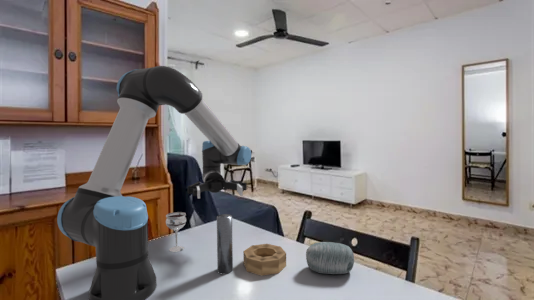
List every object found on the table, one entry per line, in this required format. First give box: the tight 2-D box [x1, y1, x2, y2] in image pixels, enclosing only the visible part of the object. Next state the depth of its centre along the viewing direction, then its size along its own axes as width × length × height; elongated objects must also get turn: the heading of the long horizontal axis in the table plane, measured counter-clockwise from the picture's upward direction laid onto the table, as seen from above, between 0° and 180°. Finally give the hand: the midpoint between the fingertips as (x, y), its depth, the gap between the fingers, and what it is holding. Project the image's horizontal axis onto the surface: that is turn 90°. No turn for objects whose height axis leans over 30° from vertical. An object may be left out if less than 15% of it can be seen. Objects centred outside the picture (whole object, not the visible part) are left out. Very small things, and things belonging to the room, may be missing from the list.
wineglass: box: [165, 211, 187, 253], centre depth 98 cm, size 7×7×12 cm
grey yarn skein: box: [305, 241, 355, 275], centre depth 82 cm, size 14×10×10 cm
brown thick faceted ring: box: [243, 243, 287, 277], centre depth 86 cm, size 12×12×4 cm
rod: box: [216, 213, 234, 275], centre depth 82 cm, size 4×4×16 cm
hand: (220, 193), depth 91 cm, fingers open, 13 cm apart
